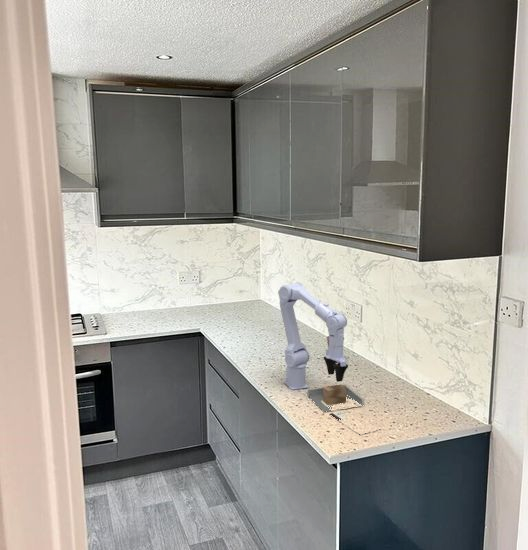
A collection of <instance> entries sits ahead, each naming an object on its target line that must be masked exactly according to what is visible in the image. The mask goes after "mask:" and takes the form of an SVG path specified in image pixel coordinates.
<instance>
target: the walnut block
mask: <svg viewBox="0 0 528 550" xmlns="http://www.w3.org/2000/svg"><path fill="white" fill-rule="evenodd" d="M322 387H323V402H324V403H325V404H326V405H333V404H340V403H346V388H345V387H344V386H343V384H335V385H327V386H322Z"/></svg>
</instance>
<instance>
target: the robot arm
mask: <svg viewBox="0 0 528 550" xmlns="http://www.w3.org/2000/svg"><path fill="white" fill-rule="evenodd" d="M277 294H278V297H279V298H278V299H279V307H280V312H281V317H282V322H283V326H284V331H285V334H286V335H285V337H286V341H287V346H286V348H285V349H284V354H285V355H284V362H285V364H286V365H287V366H286V369H285V372H286V373H285V378H286V379H285V380H283V382H284V384H285V385H286V386H287V387H288V388H289V389H290V390H291V391H293V390H302V389H310V386H309V385H308V384H307V383H306V382H307V381H306V380H307V379H306V374H307V372H306V370H307V369H306V366H307V364H308V362H309V361H310V357H311V356H310V353H309V351H308V349H307V346H306V345H305V344H304V343H303V342H301V337H300V332H299V327H298V322H297V317H296V314H295V313H296V312H295V307H294V305H295V304H296V303H297V301H298V300H301V301H302V302H303V303H304V304H306V305H307V306H309V307H310V308H312V309H313V310H314V314H315V316H317V317H318V318H320V319H321V320H322V321H323V322H324V323H325V325H326V328H327V331H328V336H329V350H328V349H326V350H325V356H323V360H324V361H325V364H326V369H327V370H326V371H327V374H328V375H331V376H332V375H334V374H335V381H336V382H337V383H338V382H340V383H341V382H343V380H344V376H345V373H346V371H347V369H348V368H349V364H348V363H347V361H346V359H345V356H344V343H345V342H344V341H345V336H344V335H345V327H347V326H348V325H347V324H348V319H347V316H346V315H345V314H344V313H341V312H340V313H339V312H337V311H336V310H334V309H333V308H331V307H330V306H329V303H327V302H320V301H319V300H317V298H315V297H314V296H313V295H312V294H311V293H310V292H309V291H308V290H307V287H306V286H305V285H303V284H302V283H301V282H299V281H298V282H294V283H290V284H283V285H281V287H280V288H279V290H278V291H277ZM336 361H337V362H338V363H336Z"/></svg>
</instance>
